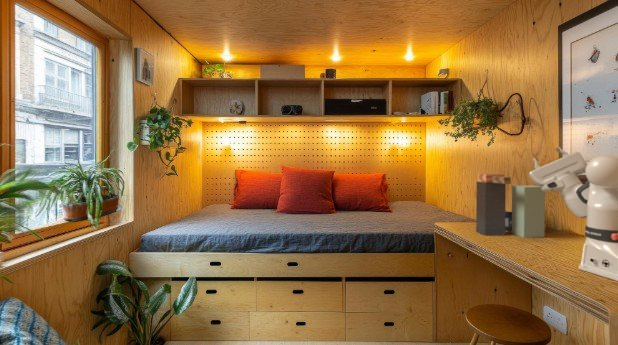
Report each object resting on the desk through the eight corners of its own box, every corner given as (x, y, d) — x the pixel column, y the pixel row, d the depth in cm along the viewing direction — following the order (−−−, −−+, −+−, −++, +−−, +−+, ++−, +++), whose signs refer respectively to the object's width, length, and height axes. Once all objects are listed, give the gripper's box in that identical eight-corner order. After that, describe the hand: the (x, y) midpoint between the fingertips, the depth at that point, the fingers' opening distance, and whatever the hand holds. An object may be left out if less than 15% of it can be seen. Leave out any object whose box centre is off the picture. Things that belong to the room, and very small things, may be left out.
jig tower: (505, 235, 173) (505, 182, 172) (485, 235, 173) (485, 182, 172) (495, 231, 182) (495, 181, 181) (476, 231, 181) (476, 181, 180)
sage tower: (544, 237, 168) (545, 186, 167) (523, 237, 167) (524, 187, 167) (530, 232, 177) (531, 185, 176) (511, 233, 177) (512, 185, 176)
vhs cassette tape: (481, 228, 191) (481, 209, 191) (483, 227, 193) (483, 209, 193) (520, 232, 178) (520, 213, 178) (521, 232, 181) (521, 212, 180)
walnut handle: (516, 183, 163) (517, 175, 163) (497, 184, 162) (498, 175, 162) (494, 181, 181) (494, 173, 181) (477, 181, 180) (477, 173, 180)
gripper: (594, 168, 141) (573, 139, 146) (542, 190, 147) (523, 161, 151) (589, 171, 147) (569, 143, 152) (539, 192, 152) (521, 165, 157)
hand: (545, 153), depth 152 cm, fingers open, 8 cm apart
